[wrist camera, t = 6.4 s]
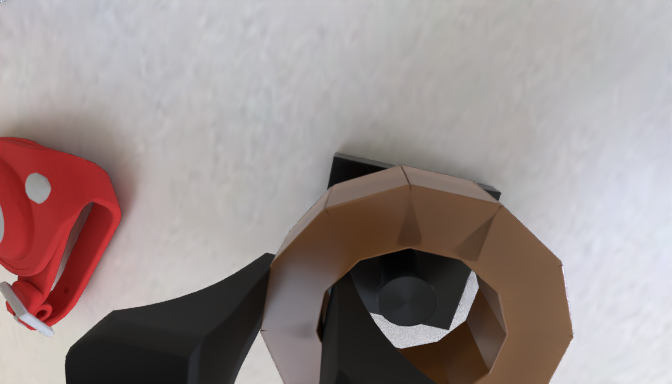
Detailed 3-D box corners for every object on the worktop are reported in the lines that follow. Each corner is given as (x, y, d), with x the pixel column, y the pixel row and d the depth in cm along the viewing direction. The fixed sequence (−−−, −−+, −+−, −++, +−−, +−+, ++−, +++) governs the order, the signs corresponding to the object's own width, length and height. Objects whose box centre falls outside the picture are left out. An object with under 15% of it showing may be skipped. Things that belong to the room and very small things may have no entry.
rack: (492, 186, 18) (554, 230, 12) (444, 317, 21) (475, 403, 15) (335, 152, 18) (323, 179, 12) (307, 287, 21) (287, 360, 15)
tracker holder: (-76, 167, 19) (-4, 98, 15) (20, 161, 23) (98, 106, 19) (-5, 358, 19) (86, 342, 15) (78, 319, 23) (167, 299, 19)
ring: (571, 202, 13) (630, 233, 10) (478, 403, 16) (503, 469, 13) (304, 142, 13) (286, 156, 10) (267, 352, 16) (246, 406, 14)
